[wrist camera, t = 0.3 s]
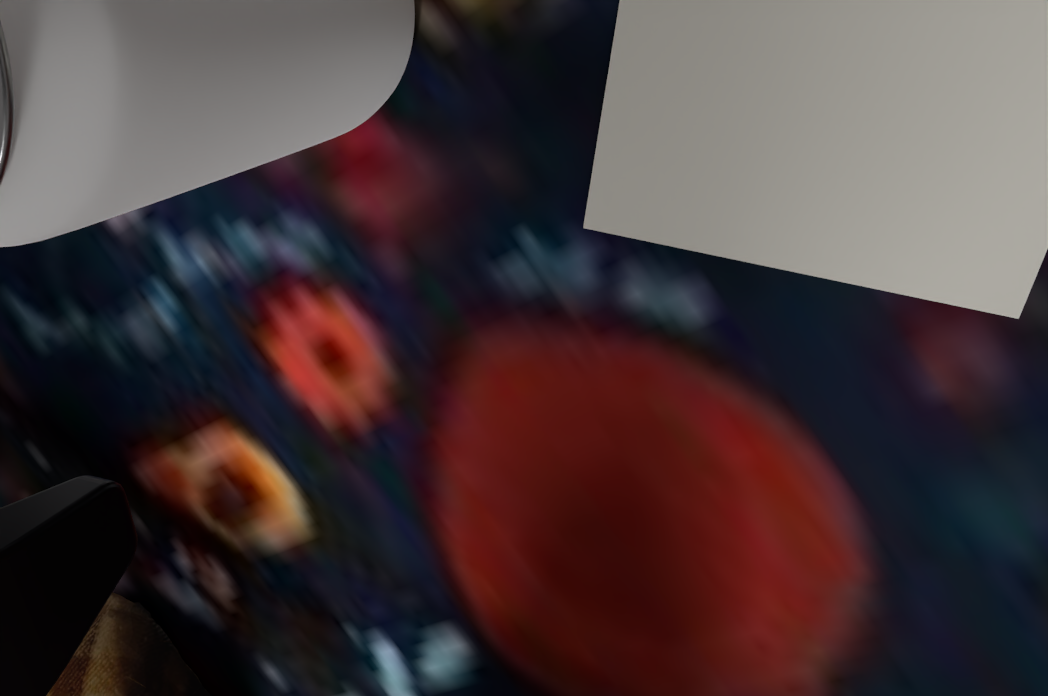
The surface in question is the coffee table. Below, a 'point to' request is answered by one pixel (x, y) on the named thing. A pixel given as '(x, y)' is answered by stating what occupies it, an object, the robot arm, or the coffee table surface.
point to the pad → (835, 140)
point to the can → (175, 96)
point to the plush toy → (126, 658)
